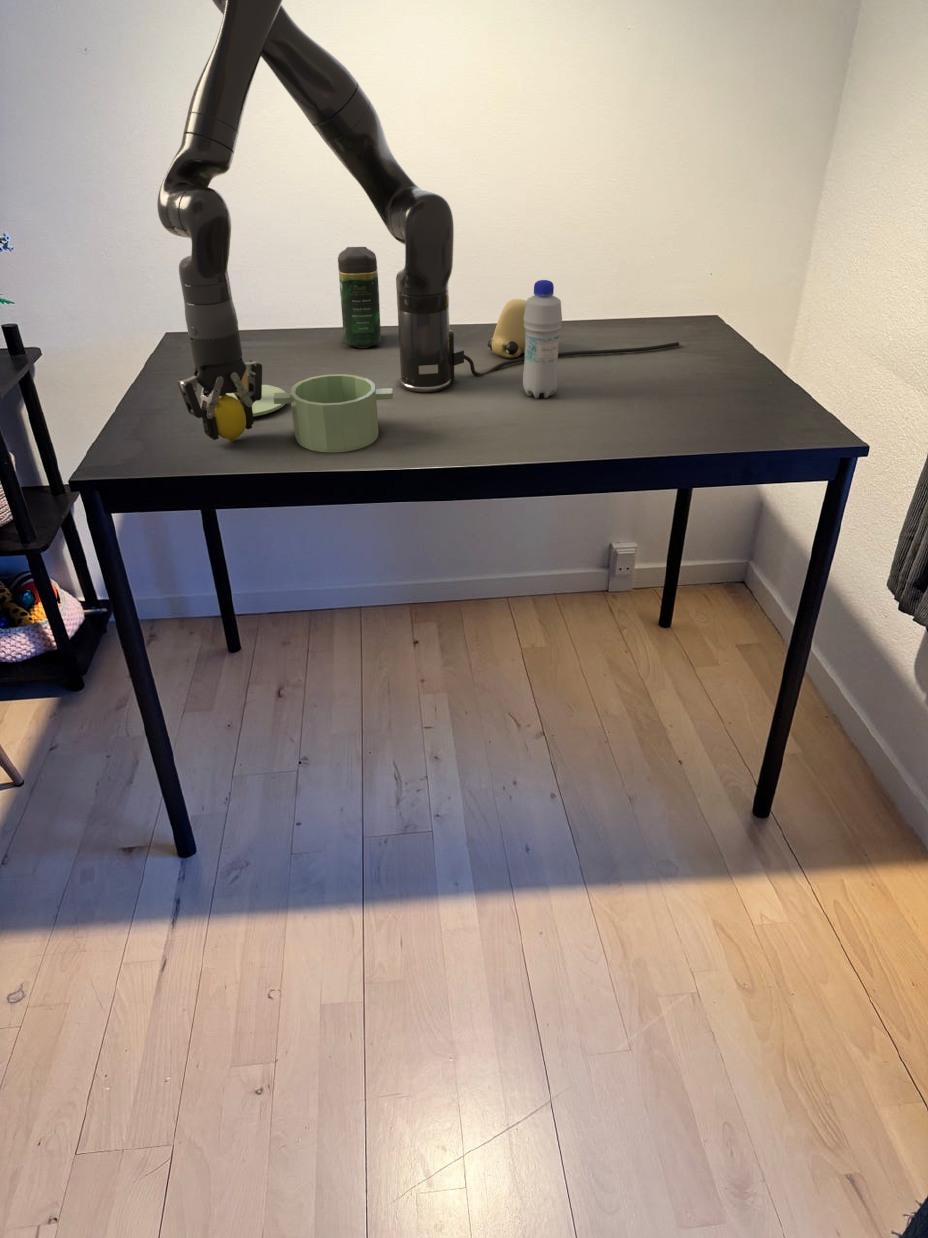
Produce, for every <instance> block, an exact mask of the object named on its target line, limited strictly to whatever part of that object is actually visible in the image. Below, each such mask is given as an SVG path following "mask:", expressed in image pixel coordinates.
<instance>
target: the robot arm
mask: <svg viewBox="0 0 928 1238" xmlns="http://www.w3.org/2000/svg"><path fill="white" fill-rule="evenodd" d="M211 1H212V2H213V4H214V5H215V7H216V8H217V9H218V10H219V11H220V13H221V15H223V17H222V19H221V24H220V28H219V31H218V34H217V37H216V39H215V42H214V45H213V47H212V49H211V52H210V54H209V57H208V59H207V61H206V63H205V65H204V67H203V68H202V72H201V74H200V76H199V78H198V80H197V83H196V85H195V87H194V90H193V93H192V95H191V99H190V103H189V106H188V110H187V115H186V119H185V124H184V129H183V134H182V137H181V138H182V139H181V144H180V146H179V148H178V150H177V152H176V154H175V155H174V157H173V159H172V161H171V163H170V166H169V167H168V170H167V171H166V174H165V175H164V178H163V180H162V182H161V184H160V188H159V191H158V194H157V205H156V207H157V215H158V218H159V221H160V224H161V225H162V227H163V228H164V229H165V230H166V231H167V232H168V233H171V234H172V235H174V236H177V237H181V238H186V239H190V240H191V253H190V255H188V256H185V257H183V258H182V259H181V260H180V262H179V264H178V275H179V281H180V287H181V292H182V297H183V306H184V319H185V323H186V329H187V334H188V340H189V345H190V351H191V356H192V361H193V365H194V372H193V375H191V376H190V377H188V378H185V379H183V378H179V379H178V380H177V386H178V389H179V391H180V394H181V396H182V398H183V401H184V404H185V406H186V409H187V412H188V413H189V414H190V415H192V416H194V417H195V418H197V419H201V420H202V426H203V430H204V434H205V435H206V436H207V437H209V439H211V440H213V441H216V440H219V439H220V436H219V435H218V430H217V424H216V419H215V417H213V416H214V411H215V406H216V405H217V404H218V400H219V397H220V396H223V395H225V394H226V393H234V395H235V396H236V398H237V399H238V401H239V402H240V403H241V405H242V406H243V409H244V411H245V415H246V427H245V430H250V429H252V428H253V425H254V423H255V419H254V416H253V411H252V405H253V403H254V402H255V401H256V400H258V401H259V400H261V398H262V385H263V364H261V363H260V362H258V361H255V360H253V359H250V360H248V362H245V361H244V359H243V349H242V344H241V337H240V329H239V321H238V317H237V311H236V307H235V304H234V300H233V296H232V294H233V293H232V288H231V282H230V276H229V271H228V269H229V268H228V266H229V260H230V248H231V239H232V238H231V236H232V217H231V212H230V209H229V207H228V205H227V202H226V200H225V198H224V197H223V195H221V193H220V192H218V191H217V190H216V189H215V188H211V187H209V186H210V184H211V182H212V180H213V179H214V178H216V177H219V176H222V175H225V174H227V173H228V172H229V170H230V169H231V166H232V163H233V160H234V154H235V151H236V146H237V143H238V138H239V133H240V130H241V124H242V121H243V118H244V117H243V116H244V112H245V109H246V106H247V105H246V104H247V100H248V97H249V93H250V90H251V88H252V84H253V80H254V77H255V74H256V71H257V68H258V65H259V63H260V59H263V61H264V62H265V64H266V65H267V66H268V67H269V68H270V70H271V71H272V73H273V74H274V75H275V77H276V78H277V80H278V81H279V83H280V84H281V85H282V86H283V88H284V89H285V90H286V92H287V93H288V95H289V96H290V97H291V98H292V99H293V101H294V102H295V103H296V105H297V106H298V108H299V109H300V110H301V111H302V113H303V114H304V116H305V117H306V119H307V120H308V121H309V123H310V125H311V126H312V127H313V128H314V130H315V132H317V134H318V135H319V136H320V137H321V139H322V140H323V141H324V143H325V144H326V145H327V147H328V148H329V149H330V150H331V152H332V153H333V154H334V155H335V157H336V158H337V159H338V160H339V161H340V163H341V164H342V165H343V167H344V168H345V169H346V170H347V171H348V173H350V175H351V176H352V177H353V178H354V179H355V180H356V182H357V183H358V184H359V185H360V187H361V188H362V190H363V191H364V192H365V194H366V196H367V197H368V199H369V200H370V202H371V203H372V205H373V207H374V209H375V210H376V212H377V214H378V216H379V218H380V219H381V221H382V222H383V224H384V226H385V227H386V229H387V231H388V232H389V233H390V235H391V236H392V237H393V238H394V239H395V240H396V241H397V242H399V243H401V244H403V245H404V247H405V250H404V252H405V253H404V255H405V256H404V259H405V260H404V268H403V269H400V270H399V271H398V272H397V274H396V277H395V287H396V305H397V323H398V324H397V325H398V327H397V328H398V345H399V346H398V347H399V366H400V367H399V368H400V379H399V381H400V386H401V387H402V388H403V389H405V390H407V391H410V392H415V393H433V392H440V391H442V390H445V389H447V388H449V387H451V384H452V383H455V366H458V365H461V364H465V360H466V361H467V363H469V367H470V372H471V373H472V375H473V376H475V377H482V376H484V375H488V374H491V373H493V372H496V371H497V370H498V369H500V368H503V367H505V366H509V365H514V364H518V363H522V362H525V356H523V357H519V358H513V359H510V360H507V361H503V362H500V363H497V364H496V365H495V366H493V367H492V368H491V369H489V370H487V371H486V372H478V371H476V369H475V364H474V363H475V362H474V361H473V359H472V358H471V357H469V356H468V355H466V354H465V350H464V349H462V348H459V347H456V346H455V333H454V331H453V330H451V329H450V287H449V284H450V279H451V276H452V272H453V269H454V245H455V244H454V243H455V242H454V241H455V223H454V214H453V211H452V208H451V206H450V203H449V202H448V201H447V199H445V198H444V197H443V196H442V195H441V194H439V193H436V192H433V191H429V190H426V189H422V188H421V187H419V186H418V184H416V183H415V182H414V181H413V180H412V178H411V177H410V176H409V175H408V174H407V172H406V171H405V170H404V168H403V167H402V166H401V165H400V164H399V162H398V161H397V159H396V158H395V155H394V154H393V152H392V150H391V149H390V146H389V142H388V140H387V137H386V133H385V130H384V127H383V124H382V121H381V119H380V115H379V114H378V112H377V110H376V108H375V106H374V104H373V103H372V101H371V99H369V97H368V95H367V94H366V92H365V91H364V90H363V88H362V86H361V85H360V84H359V82H358V81H357V79H356V77H354V75H353V74H352V73H351V72H350V70H349V69H348V68H347V67H346V66H345V65H344V64H343V63H342V62H341V61H340V60H339V59H338V58H337V57H335V56H334V55H333V54H332V53H330V52H329V51H328V50H327V49H325V48H324V47H323V46H321V44H319V43H318V42H316V41H315V40H314V39H313V38H312V37H310V36H309V35H308V34H307V33H306V32H305V31H304V30H302V29H301V28H300V27H299V26H298V24H297V23H296V22H295V21H294V20H293V19H292V17H291V16H290V15H289V13H288V12H287V10H286V9H285V7H284V6H283V4H282V3H283V1H284V0H211ZM678 346H680V342H679V341H675V342H669V343H663V344H658V345H651V346H643V347H631V348H629V347H628V348H627V347H626V348H612V349H593V350H591V349H589V350H575V351H573V350H572V351H561V352H558V357H567V356H569V357H570V356H583V355H584V356H585V355H604V354H605V355H607V354H621V353H636V352H647V351H656V350H661V349H666V348H668V349H669V348H674V347H678ZM245 371H246V374H247V375H248V392H247V390H246V388H245V387H244V385H243V384H242V382H241V380H242V378H243V376H244V373H245ZM197 385H200V386H201V391H200V402H199V400H198V399H199V398H198V396H197V394H196V392H197V391H198V388H197ZM210 394H211V396H210Z"/></svg>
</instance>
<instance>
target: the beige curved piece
mask: <svg viewBox="0 0 928 1238" xmlns="http://www.w3.org/2000/svg"><path fill="white" fill-rule="evenodd" d="M526 301H527V299H523V298H512V299H510V300H508V301H507V302H506V303H505V304H504V306H503V308H502V310H501V313H500V315H499V317H498V320H497V323H496V326H495V329H494V333H493V337H492V338H490V339H489V340H488V342H487V348H488V350H490V351H491V352H492V353H493V354H495V355H496V356H499V357H502V358H505V359H516V358H518V357H519V356H520V355H521V354H525V332H526V330H525V328H524V314H525V308H526Z"/></svg>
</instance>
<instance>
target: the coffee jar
mask: <svg viewBox="0 0 928 1238" xmlns="http://www.w3.org/2000/svg"><path fill="white" fill-rule="evenodd" d="M337 264H338V265H337V267H338V279H339V293H340V294H339V295H340V306H341V319H342V331H343V332H342V333H343V341H344V344H345V345H346V346H347V347H354V348H358V349H368V348H369V347H374V346H378V345H380V343H381V339H382V333H381V331H382V330H381V314H380V313H381V311H380V285H379V275H378V274H379V272H378V260H377V256H376V253H375V252H374V251H373V250H371V249H369V248H368V247H367V246H347V247H346V248H345V249H343V250H342V251H340V253H339V254H338V256H337Z"/></svg>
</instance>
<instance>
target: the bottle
mask: <svg viewBox="0 0 928 1238" xmlns="http://www.w3.org/2000/svg"><path fill="white" fill-rule="evenodd" d="M554 288H555V286H554V283H553V281H551V280H548V279H539V280H537V281H535V283H534V285H533V295H531V296H530V297H528V298H527V299H526V308H525V314H524V328H525V330H526V332H525V353H524V357H525V361H523V362H524V363H523V370H522V371H523V372H522V373H523V374H522V387H523V390H524V393H525V394H526V396H528V397H531V396H532V395H533V397H534V398H535V399H539V397H540V394H543V398H544V399H546V398H549V396H553V395H554V394H555V393H556V391H557V388H558V381H559V379H558V378H559V375H558V369H559V367H558V363H559V362H558V359H559V356H558V353H559V343H560V330H561V328H562V322H563V314H562V312H563V311H562V301H561V299H560V298H559V297H557V296H555V295H554V290H555V289H554Z"/></svg>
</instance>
